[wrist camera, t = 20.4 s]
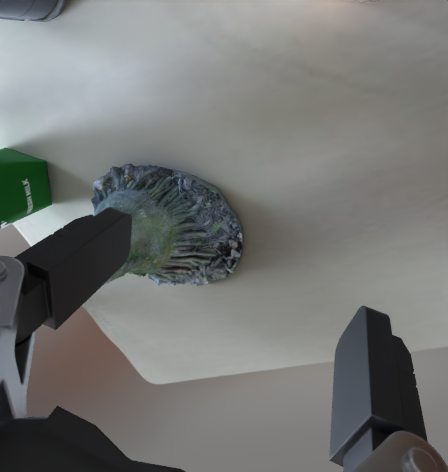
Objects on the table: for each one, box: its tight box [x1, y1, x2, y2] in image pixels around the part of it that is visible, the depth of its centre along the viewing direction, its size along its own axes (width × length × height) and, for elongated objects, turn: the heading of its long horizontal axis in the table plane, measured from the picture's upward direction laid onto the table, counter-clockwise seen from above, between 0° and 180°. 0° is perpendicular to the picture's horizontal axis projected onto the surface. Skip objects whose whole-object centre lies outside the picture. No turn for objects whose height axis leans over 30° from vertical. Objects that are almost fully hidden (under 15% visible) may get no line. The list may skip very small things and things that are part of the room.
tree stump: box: [91, 164, 243, 286], centre depth 39 cm, size 18×20×18 cm
